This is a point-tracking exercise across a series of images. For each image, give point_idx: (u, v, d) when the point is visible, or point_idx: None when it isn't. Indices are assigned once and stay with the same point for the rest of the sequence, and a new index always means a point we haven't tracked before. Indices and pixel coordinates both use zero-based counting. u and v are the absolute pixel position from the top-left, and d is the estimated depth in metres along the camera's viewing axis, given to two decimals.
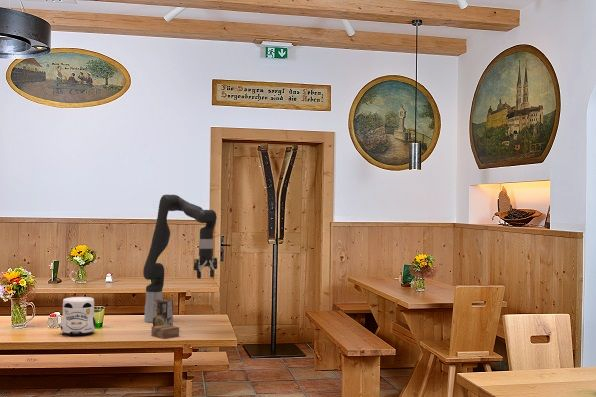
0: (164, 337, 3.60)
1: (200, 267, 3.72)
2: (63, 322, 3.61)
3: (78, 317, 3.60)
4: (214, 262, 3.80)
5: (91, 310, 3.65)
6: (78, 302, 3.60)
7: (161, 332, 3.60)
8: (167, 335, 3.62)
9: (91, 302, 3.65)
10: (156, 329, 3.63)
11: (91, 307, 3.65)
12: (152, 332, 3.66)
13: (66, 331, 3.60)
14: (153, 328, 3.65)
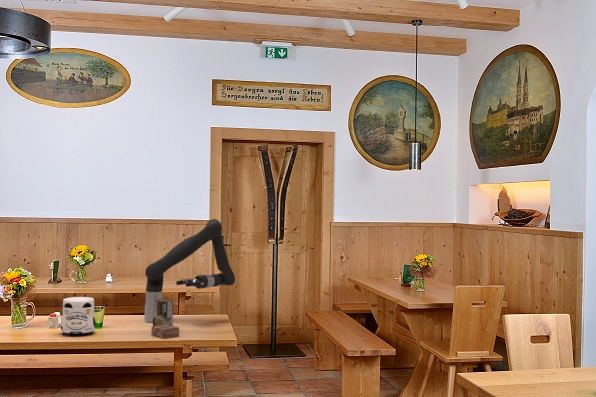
0: (164, 337, 3.60)
1: (194, 285, 3.91)
2: (63, 322, 3.61)
3: (78, 317, 3.60)
4: (186, 282, 3.99)
5: (91, 310, 3.65)
6: (78, 302, 3.60)
7: (161, 332, 3.60)
8: (167, 335, 3.61)
9: (91, 302, 3.65)
10: (156, 329, 3.63)
11: (91, 307, 3.65)
12: (152, 332, 3.66)
13: (66, 331, 3.60)
14: (153, 328, 3.65)
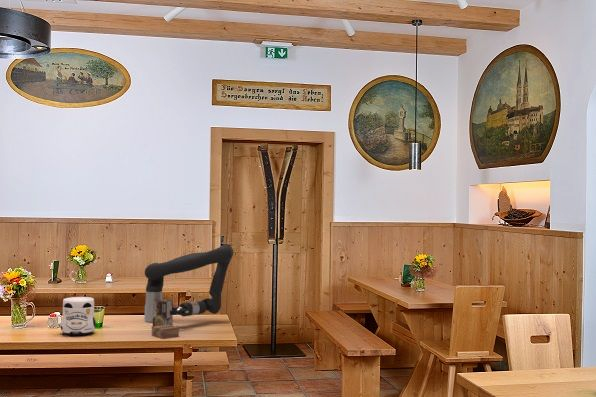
0: (163, 337, 3.60)
1: (179, 313, 3.84)
2: (63, 322, 3.61)
3: (78, 317, 3.60)
4: None
5: (91, 310, 3.65)
6: (78, 302, 3.60)
7: (160, 332, 3.60)
8: (166, 335, 3.61)
9: (91, 302, 3.65)
10: (156, 329, 3.64)
11: (91, 307, 3.65)
12: (152, 332, 3.66)
13: (66, 331, 3.60)
14: (153, 328, 3.66)
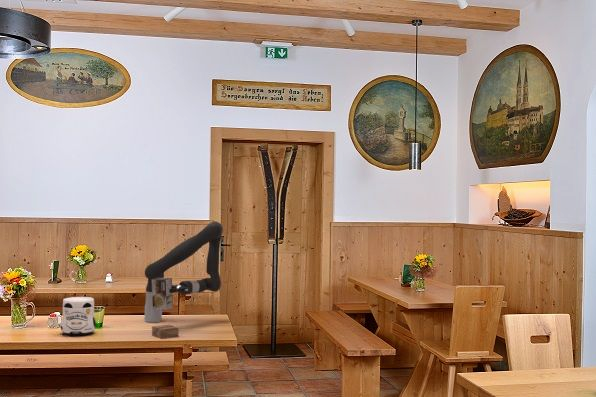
0: (162, 337, 3.60)
1: (178, 291, 3.83)
2: (63, 322, 3.61)
3: (78, 317, 3.60)
4: None
5: (91, 310, 3.65)
6: (78, 302, 3.60)
7: (159, 332, 3.61)
8: (165, 335, 3.61)
9: (91, 302, 3.65)
10: (155, 329, 3.64)
11: (91, 307, 3.65)
12: (152, 332, 3.67)
13: (66, 331, 3.60)
14: (153, 328, 3.66)
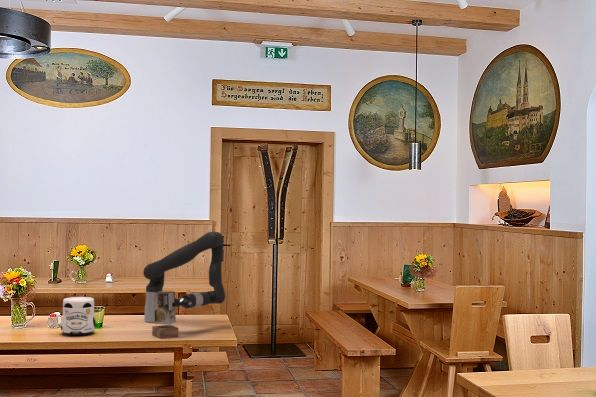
0: (161, 337, 3.60)
1: None
2: (63, 322, 3.61)
3: (78, 317, 3.60)
4: None
5: (91, 310, 3.65)
6: (78, 302, 3.60)
7: (159, 332, 3.61)
8: (165, 335, 3.61)
9: (91, 302, 3.65)
10: (155, 329, 3.64)
11: (91, 307, 3.65)
12: (152, 331, 3.67)
13: (66, 331, 3.60)
14: (153, 328, 3.66)
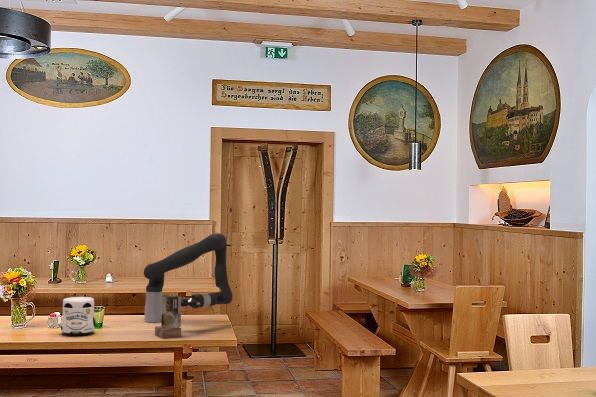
0: (164, 337, 3.60)
1: None
2: (63, 322, 3.61)
3: (78, 317, 3.60)
4: (181, 301, 3.81)
5: (91, 310, 3.65)
6: (78, 302, 3.60)
7: (161, 332, 3.60)
8: (168, 335, 3.61)
9: (91, 302, 3.65)
10: (158, 329, 3.64)
11: (91, 307, 3.65)
12: (155, 332, 3.67)
13: (66, 331, 3.60)
14: (156, 328, 3.66)
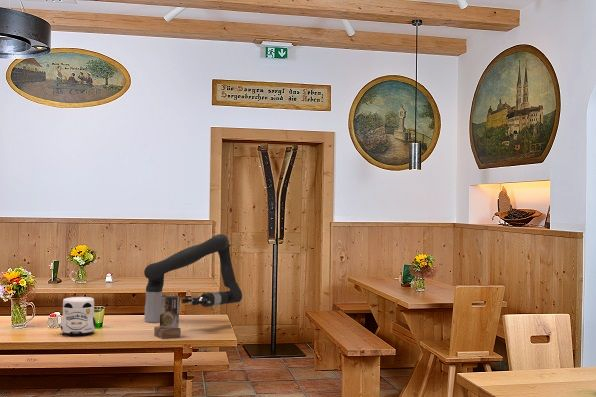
0: (164, 337, 3.59)
1: (201, 304, 3.78)
2: (63, 322, 3.61)
3: (78, 317, 3.60)
4: (192, 300, 3.86)
5: (91, 310, 3.65)
6: (78, 302, 3.60)
7: (161, 332, 3.60)
8: (167, 336, 3.60)
9: (91, 302, 3.65)
10: (157, 329, 3.63)
11: (91, 307, 3.65)
12: (154, 332, 3.66)
13: (66, 331, 3.60)
14: (155, 328, 3.65)
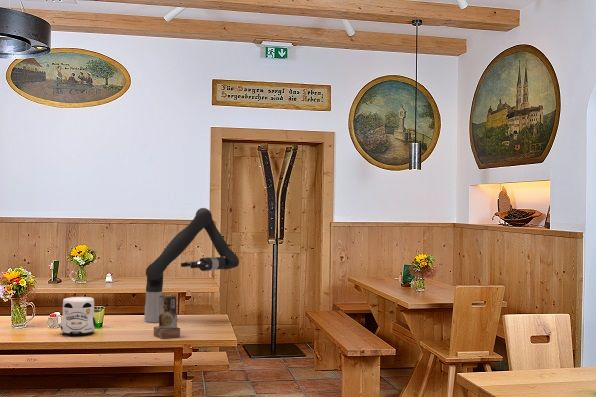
0: (163, 338, 3.59)
1: (199, 267, 3.92)
2: (63, 322, 3.61)
3: (78, 317, 3.60)
4: (190, 264, 4.00)
5: (91, 310, 3.65)
6: (78, 302, 3.60)
7: (161, 332, 3.60)
8: (167, 336, 3.60)
9: (91, 302, 3.65)
10: (157, 329, 3.63)
11: (91, 307, 3.65)
12: (154, 332, 3.66)
13: (66, 331, 3.60)
14: (155, 328, 3.65)
